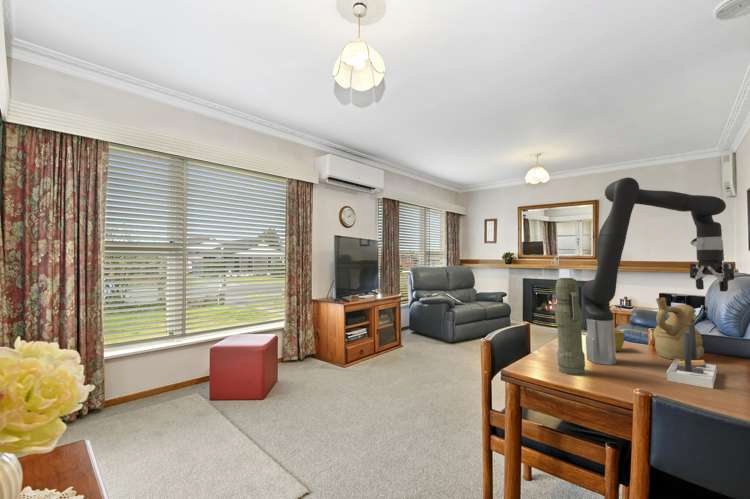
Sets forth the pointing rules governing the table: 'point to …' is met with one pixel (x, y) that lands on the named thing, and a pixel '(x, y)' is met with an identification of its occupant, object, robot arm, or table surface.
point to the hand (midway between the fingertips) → (711, 290)
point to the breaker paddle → (692, 362)
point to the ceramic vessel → (674, 330)
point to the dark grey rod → (692, 342)
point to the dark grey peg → (687, 352)
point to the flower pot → (618, 339)
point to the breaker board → (692, 374)
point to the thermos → (569, 327)
